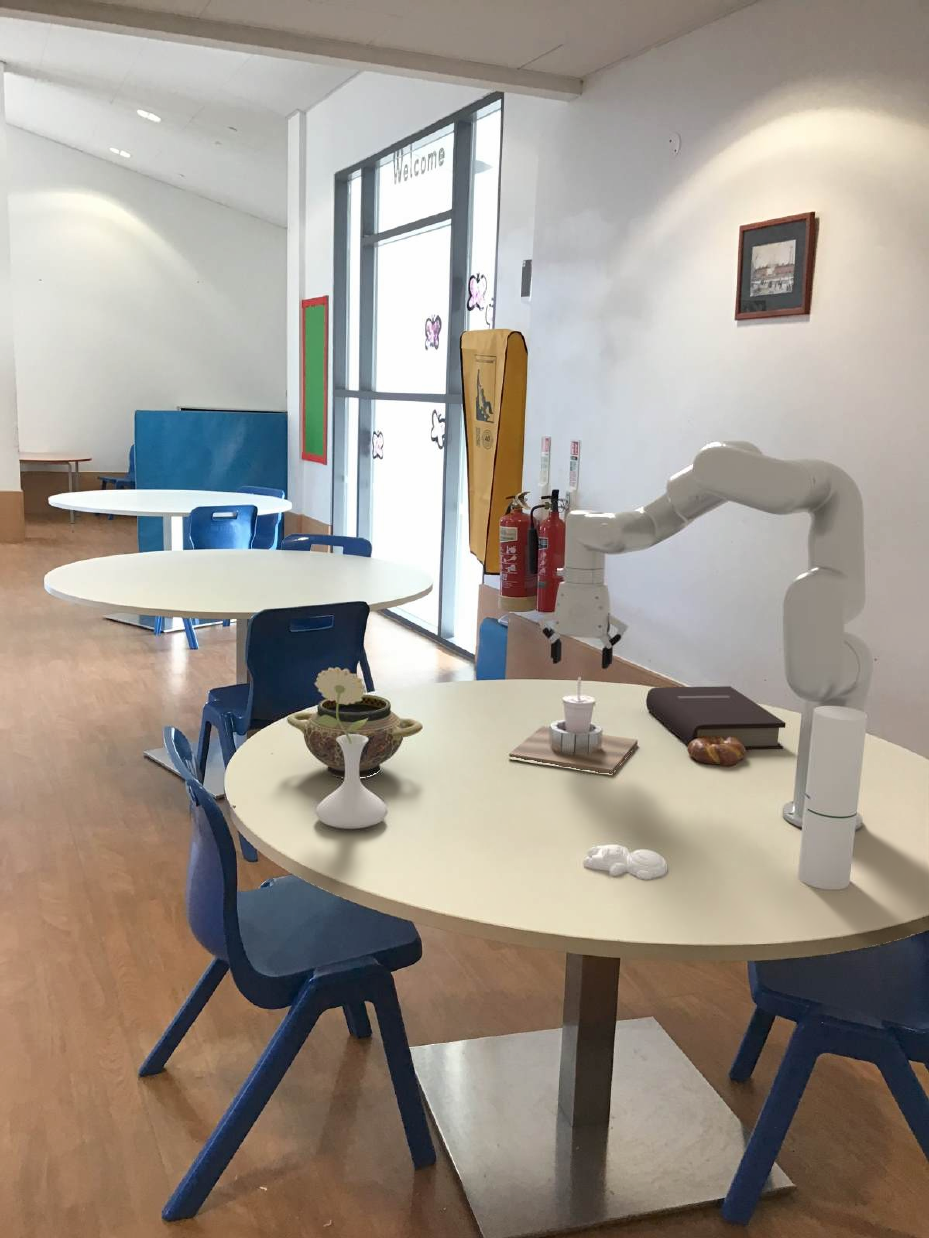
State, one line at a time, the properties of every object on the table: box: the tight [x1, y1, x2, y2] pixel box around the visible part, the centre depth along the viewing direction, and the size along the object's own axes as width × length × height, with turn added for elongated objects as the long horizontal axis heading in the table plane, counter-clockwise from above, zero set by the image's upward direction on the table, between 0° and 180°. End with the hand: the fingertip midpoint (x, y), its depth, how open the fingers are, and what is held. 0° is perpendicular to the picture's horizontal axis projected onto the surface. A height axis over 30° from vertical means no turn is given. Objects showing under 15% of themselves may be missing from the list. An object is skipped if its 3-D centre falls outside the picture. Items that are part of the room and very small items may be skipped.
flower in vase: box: [314, 666, 388, 830], centre depth 170 cm, size 13×11×25 cm
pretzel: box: [687, 736, 747, 767], centre depth 209 cm, size 12×11×4 cm
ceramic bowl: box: [286, 694, 423, 778], centre depth 193 cm, size 24×18×15 cm
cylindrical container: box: [797, 706, 868, 891], centre depth 153 cm, size 7×7×25 cm
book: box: [645, 685, 786, 751], centre depth 227 cm, size 28×20×6 cm
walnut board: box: [508, 725, 639, 774], centre depth 209 cm, size 20×20×1 cm
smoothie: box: [561, 676, 596, 733], centre depth 207 cm, size 6×6×14 cm
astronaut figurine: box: [582, 844, 668, 880], centre depth 158 cm, size 9×12×3 cm
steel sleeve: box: [549, 718, 603, 755], centre depth 209 cm, size 10×10×4 cm
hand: (581, 664), depth 206 cm, fingers open, 9 cm apart
